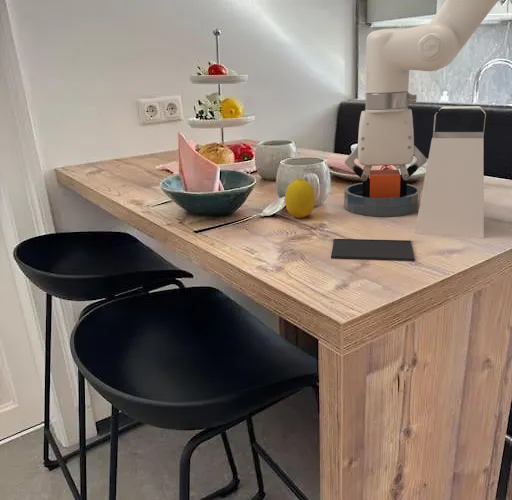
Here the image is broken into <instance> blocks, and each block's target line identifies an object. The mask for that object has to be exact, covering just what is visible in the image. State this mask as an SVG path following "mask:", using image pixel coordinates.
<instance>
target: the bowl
mask: <svg viewBox="0 0 512 500" xmlns="http://www.w3.org/2000/svg"><path fill="white" fill-rule="evenodd" d="M421 195H422V190H421V189H420V187H418V186H416V185H413V184H409V183H407V195H403V197H396V198H372V197H366V196H363V182H358V183H354V184H350V185H348V186H346V187H345V188H344V196H343V201H344V203H343V207H344V209H345V210H346V211H348V212H350V213H352V214H357V215H362V216H367V217H377V218H379V217H380V218H389V217H391V218H392V217H401V216H406V215H407V216H408V215H412V214H414V213H416V212H419V206H420V201H421Z"/></svg>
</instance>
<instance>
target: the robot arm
mask: <svg viewBox="0 0 512 500" xmlns="http://www.w3.org/2000/svg"><path fill="white" fill-rule="evenodd" d="M499 1H500V0H445V1H444V2H443V3H442V4H441V6H440V8H439V9H438V10H437V12H436V14H435V15H434V16H433V18H432V19H431V21H430V22H429V23H426V24H421V25H416V26H413V27H408V28H407V27H406V28H398V27H397V28H396V27H395V28H394V27H393V28H383V29H377V30H373V31H371V32H370V33H368V35H367V37H366V42H365V44H366V45H365V108H364V109H365V110H362V111H361V113H360V116H359V124H358V135H357V137H358V138H357V146H356V147H355V148H354V150H352V151H351V153H350V154H349V155H348V156H347V157H346V158H345V160H344V165H346V166H347V167H348V169H350V170H352V171H353V173H354V174H355V175H357V176H358V177H359V178H360V179H361V181H362V183H363V196H366V197H370V170H372V167H374V166H375V167H378V166H379V167H380V166H383V167H385V166H398V168H399V172H400V175H401V177H400V197H403V195H407V184H408V180H409V179H410V177H411V176H413V175H414V174H415V173H416V172H417V171H418V169H420V168H421V167H423V166H424V165H425V164H427V163H428V158H427V157H426V156H425V155H424V154H423V153H422V151H420V149H419V148H418V147H417V146H416V145H415V136H414V135H415V132H414V117H413V111H412V108H409V105H411V104H413V103H417V94H412V93H410V92H409V85H410V84H409V83H410V71H420V72H435V71H439V70H441V69H444V68H446V67H447V66H449V65H450V64H451V63H452V62H453V61H454V60H455V59H456V57H457V56H458V54H459V53H460V52H461V50H462V49H463V48H464V47H465V45H466V44H467V43H468V41H469V40H470V39H471V37H472V36H473V34H474V33H476V31H477V29H478V28H479V27H480V25H482V23H483V21H484V20H485V18H487V16H488V14H489V13H491V11H492V9H493V8H494V7H495V6H496V5H497V3H498V2H499ZM414 158H416V160H415V161H414ZM356 159H357V160H358V163H359V164H360V165H362V166H363V168H362V167H360V166H359V165H358V164H357V163H356V162H355V160H356ZM413 161H414V162H413ZM412 162H413V163H412ZM409 164H410V165H409ZM407 165H409V166H408V167H407Z"/></svg>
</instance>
